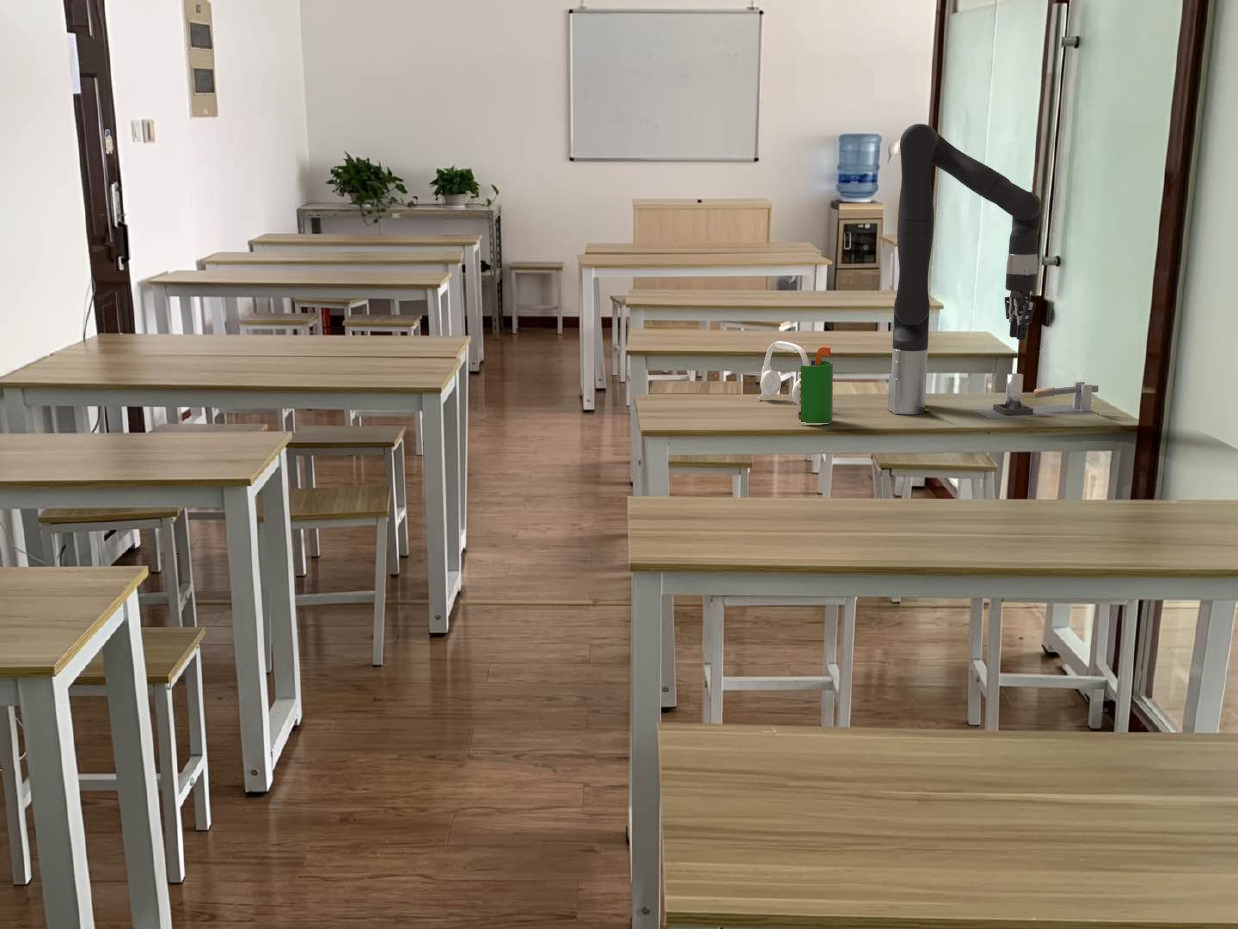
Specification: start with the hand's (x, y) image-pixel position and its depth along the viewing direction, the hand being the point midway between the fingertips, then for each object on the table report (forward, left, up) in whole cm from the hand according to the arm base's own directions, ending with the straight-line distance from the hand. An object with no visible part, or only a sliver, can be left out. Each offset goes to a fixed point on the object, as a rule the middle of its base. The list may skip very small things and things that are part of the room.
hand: (1017, 337), depth 322 cm
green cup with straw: (-52, +5, -21) cm, 56 cm away
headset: (-54, +28, -21) cm, 65 cm away
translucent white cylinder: (0, 0, -20) cm, 20 cm away
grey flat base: (+6, 0, -21) cm, 22 cm away
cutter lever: (+15, 0, -16) cm, 21 cm away
